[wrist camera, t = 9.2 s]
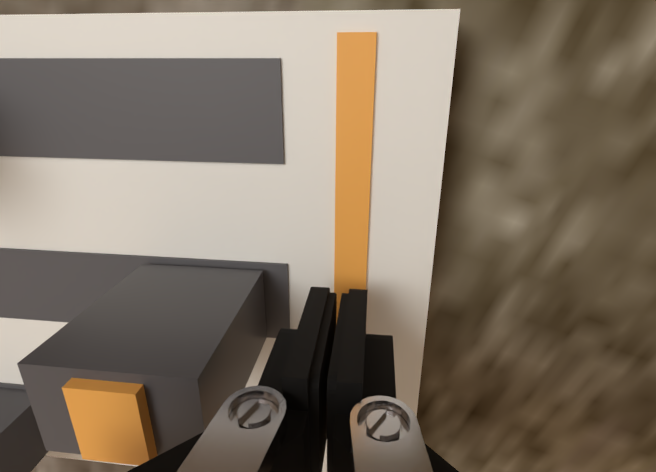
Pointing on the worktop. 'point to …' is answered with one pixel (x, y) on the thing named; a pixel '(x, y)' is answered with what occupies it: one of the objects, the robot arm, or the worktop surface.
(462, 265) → the worktop surface
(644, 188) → the worktop surface
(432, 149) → the breaker switch panel
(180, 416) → the block
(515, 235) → the worktop surface
